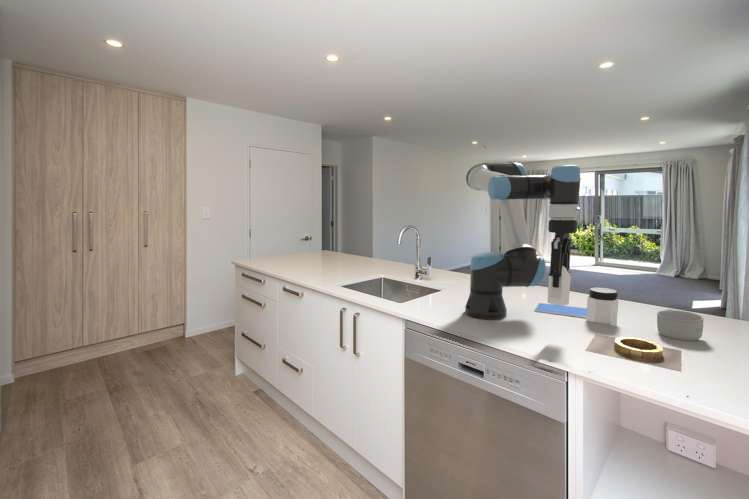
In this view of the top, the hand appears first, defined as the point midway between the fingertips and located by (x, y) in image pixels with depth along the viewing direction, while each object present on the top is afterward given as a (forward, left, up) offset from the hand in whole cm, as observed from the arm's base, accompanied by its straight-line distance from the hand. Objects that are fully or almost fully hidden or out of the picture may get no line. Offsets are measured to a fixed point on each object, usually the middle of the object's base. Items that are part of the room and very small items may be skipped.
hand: (558, 295), depth 109 cm
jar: (+8, +25, -14) cm, 30 cm away
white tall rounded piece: (0, 0, -3) cm, 3 cm away
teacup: (+28, +24, -14) cm, 39 cm away
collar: (+20, 0, -12) cm, 24 cm away
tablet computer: (-6, +34, -15) cm, 37 cm away
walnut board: (+19, 0, -14) cm, 24 cm away
